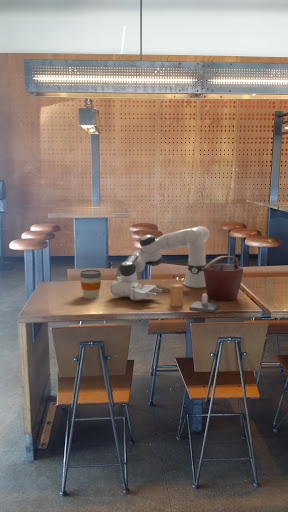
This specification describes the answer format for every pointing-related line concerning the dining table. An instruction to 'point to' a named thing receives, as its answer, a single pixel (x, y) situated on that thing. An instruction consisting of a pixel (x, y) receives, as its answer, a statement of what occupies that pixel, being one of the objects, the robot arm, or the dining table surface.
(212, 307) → the post base
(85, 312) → the dining table surface
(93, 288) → the reusable coffee cup
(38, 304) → the dining table surface
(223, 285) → the bucket
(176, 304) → the tan upright cylinder
